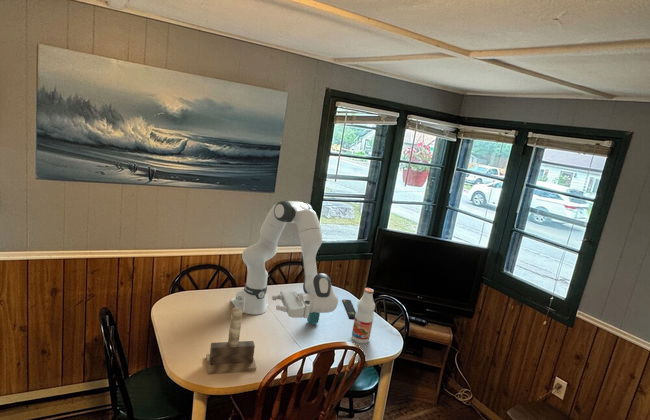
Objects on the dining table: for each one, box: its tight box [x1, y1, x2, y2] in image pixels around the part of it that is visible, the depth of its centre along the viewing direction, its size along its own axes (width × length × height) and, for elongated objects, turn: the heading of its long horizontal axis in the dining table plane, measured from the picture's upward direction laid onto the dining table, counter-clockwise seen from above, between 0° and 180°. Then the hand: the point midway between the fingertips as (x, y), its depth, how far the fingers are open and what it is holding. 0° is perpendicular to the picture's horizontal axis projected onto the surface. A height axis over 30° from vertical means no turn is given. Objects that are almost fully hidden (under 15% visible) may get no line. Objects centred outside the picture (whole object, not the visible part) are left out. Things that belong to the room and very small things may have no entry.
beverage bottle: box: [306, 312, 321, 325], centre depth 222 cm, size 6×7×20 cm
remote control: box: [341, 298, 357, 320], centre depth 249 cm, size 5×24×1 cm, turn 8°
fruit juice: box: [351, 287, 376, 344], centre depth 213 cm, size 9×9×28 cm
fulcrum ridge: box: [205, 340, 257, 375], centre depth 177 cm, size 20×12×10 cm, turn 109°
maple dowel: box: [227, 307, 243, 347], centre depth 175 cm, size 4×4×16 cm
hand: (274, 302), depth 185 cm, fingers open, 8 cm apart
